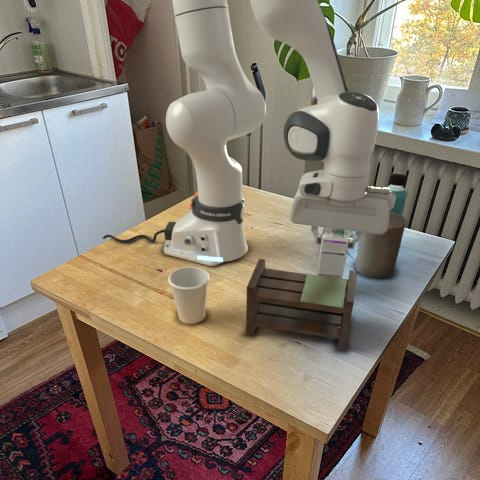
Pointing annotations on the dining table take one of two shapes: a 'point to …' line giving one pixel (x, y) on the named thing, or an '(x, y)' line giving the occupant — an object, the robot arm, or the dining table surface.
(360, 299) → the dining table surface
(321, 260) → the syrup box
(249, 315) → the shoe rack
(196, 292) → the dixie cup
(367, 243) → the pillar candle
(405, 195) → the beverage bottle
